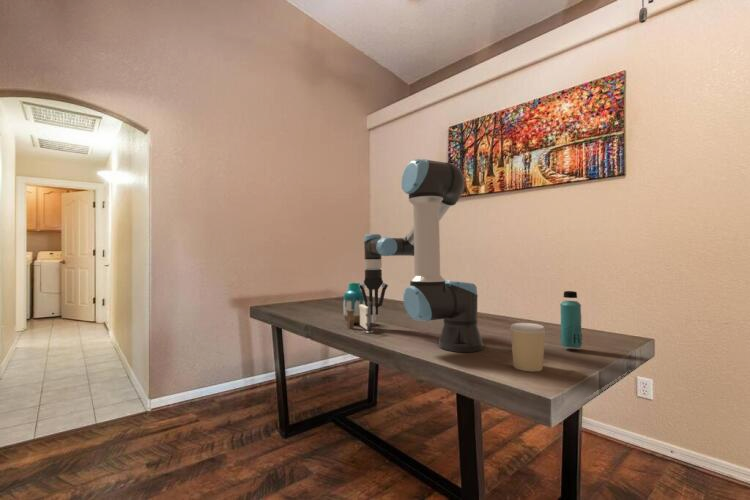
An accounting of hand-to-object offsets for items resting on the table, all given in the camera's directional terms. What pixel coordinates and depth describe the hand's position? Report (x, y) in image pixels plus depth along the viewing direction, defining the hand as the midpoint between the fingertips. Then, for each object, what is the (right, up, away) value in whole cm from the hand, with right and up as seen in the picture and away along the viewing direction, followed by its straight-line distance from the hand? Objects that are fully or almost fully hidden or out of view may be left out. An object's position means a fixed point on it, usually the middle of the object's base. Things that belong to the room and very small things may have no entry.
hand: (373, 322), depth 160 cm
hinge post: (-2, -3, -9) cm, 9 cm away
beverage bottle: (+67, -2, -37) cm, 77 cm away
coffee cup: (+45, -2, -56) cm, 72 cm away
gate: (-4, -2, -2) cm, 5 cm away
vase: (-9, -3, +12) cm, 15 cm away
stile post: (-10, -3, 0) cm, 11 cm away
